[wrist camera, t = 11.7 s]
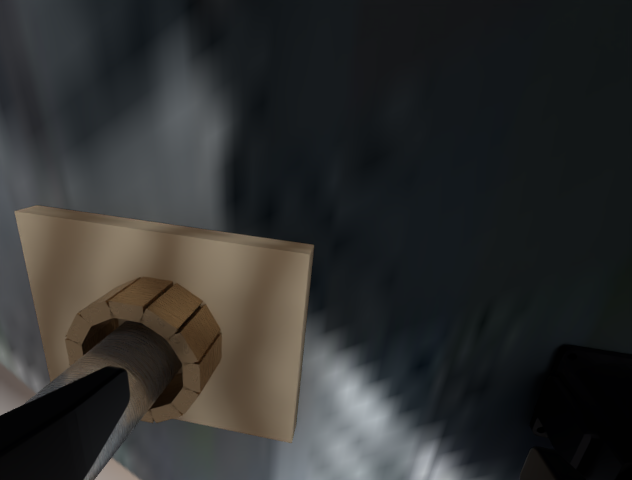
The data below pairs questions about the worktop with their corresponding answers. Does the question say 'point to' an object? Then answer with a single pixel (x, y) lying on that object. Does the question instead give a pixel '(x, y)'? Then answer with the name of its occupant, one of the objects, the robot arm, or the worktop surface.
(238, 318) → the oak base board
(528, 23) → the worktop surface
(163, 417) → the wooden collar
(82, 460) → the robot arm
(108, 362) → the steel tube
